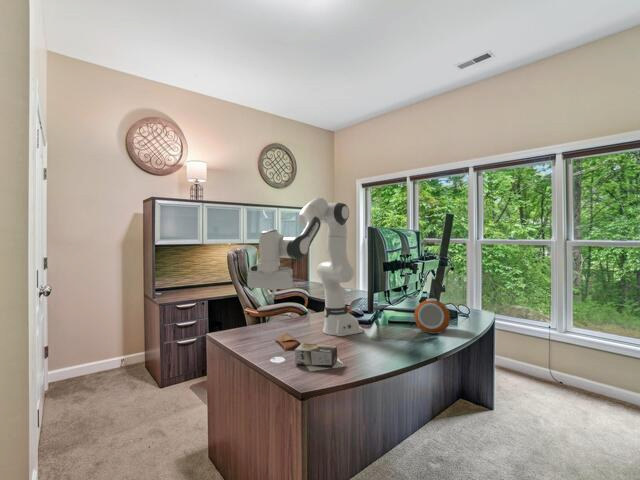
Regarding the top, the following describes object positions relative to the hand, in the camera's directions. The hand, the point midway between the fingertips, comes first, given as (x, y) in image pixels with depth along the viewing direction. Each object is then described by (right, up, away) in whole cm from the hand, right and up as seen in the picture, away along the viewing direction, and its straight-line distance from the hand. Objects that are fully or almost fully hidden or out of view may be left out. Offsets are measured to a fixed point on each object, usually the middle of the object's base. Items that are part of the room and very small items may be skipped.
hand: (270, 298), depth 144 cm
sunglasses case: (+5, -27, +19) cm, 34 cm away
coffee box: (+12, -23, -3) cm, 26 cm away
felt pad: (+22, -27, -3) cm, 35 cm away
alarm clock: (+84, -25, +40) cm, 97 cm away
